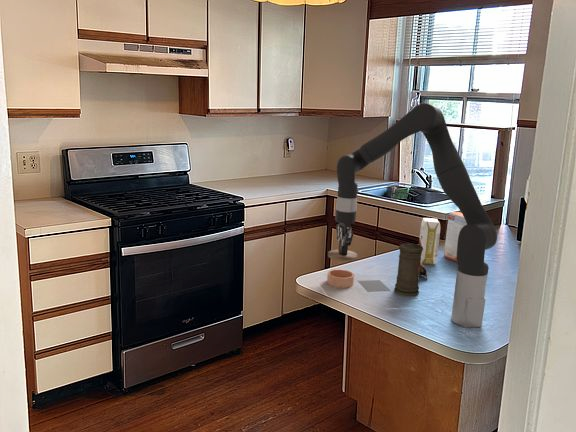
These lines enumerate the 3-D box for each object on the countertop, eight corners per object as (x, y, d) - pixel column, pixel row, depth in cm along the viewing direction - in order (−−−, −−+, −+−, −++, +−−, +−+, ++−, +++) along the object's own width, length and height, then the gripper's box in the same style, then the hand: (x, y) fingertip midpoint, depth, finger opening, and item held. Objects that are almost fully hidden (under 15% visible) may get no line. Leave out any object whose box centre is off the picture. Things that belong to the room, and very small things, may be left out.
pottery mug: (431, 283, 209) (424, 267, 206) (408, 291, 211) (400, 275, 208) (426, 266, 220) (419, 251, 216) (404, 274, 222) (397, 258, 219)
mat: (390, 291, 197) (390, 290, 197) (367, 292, 195) (367, 291, 195) (379, 281, 208) (379, 280, 207) (357, 281, 206) (357, 280, 206)
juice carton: (433, 259, 238) (438, 218, 234) (436, 265, 230) (442, 222, 226) (416, 258, 239) (421, 217, 235) (419, 264, 231) (423, 221, 226)
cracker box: (474, 264, 234) (480, 218, 229) (463, 265, 232) (469, 219, 227) (453, 255, 246) (459, 211, 242) (443, 256, 244) (448, 211, 239)
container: (400, 298, 192) (406, 250, 187) (389, 288, 200) (394, 242, 196) (423, 296, 194) (428, 249, 190) (411, 287, 202) (416, 242, 198)
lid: (361, 260, 196) (362, 247, 195) (332, 261, 194) (333, 248, 192) (351, 251, 206) (352, 239, 205) (324, 252, 204) (325, 239, 203)
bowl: (356, 288, 199) (357, 277, 198) (331, 288, 197) (332, 278, 196) (348, 278, 208) (349, 269, 207) (324, 279, 206) (324, 269, 205)
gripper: (362, 213, 190) (358, 259, 194) (349, 204, 203) (346, 248, 207) (342, 213, 188) (338, 260, 192) (330, 204, 202) (327, 248, 206)
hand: (342, 253), depth 200 cm, fingers closed on lid, 2 cm apart
